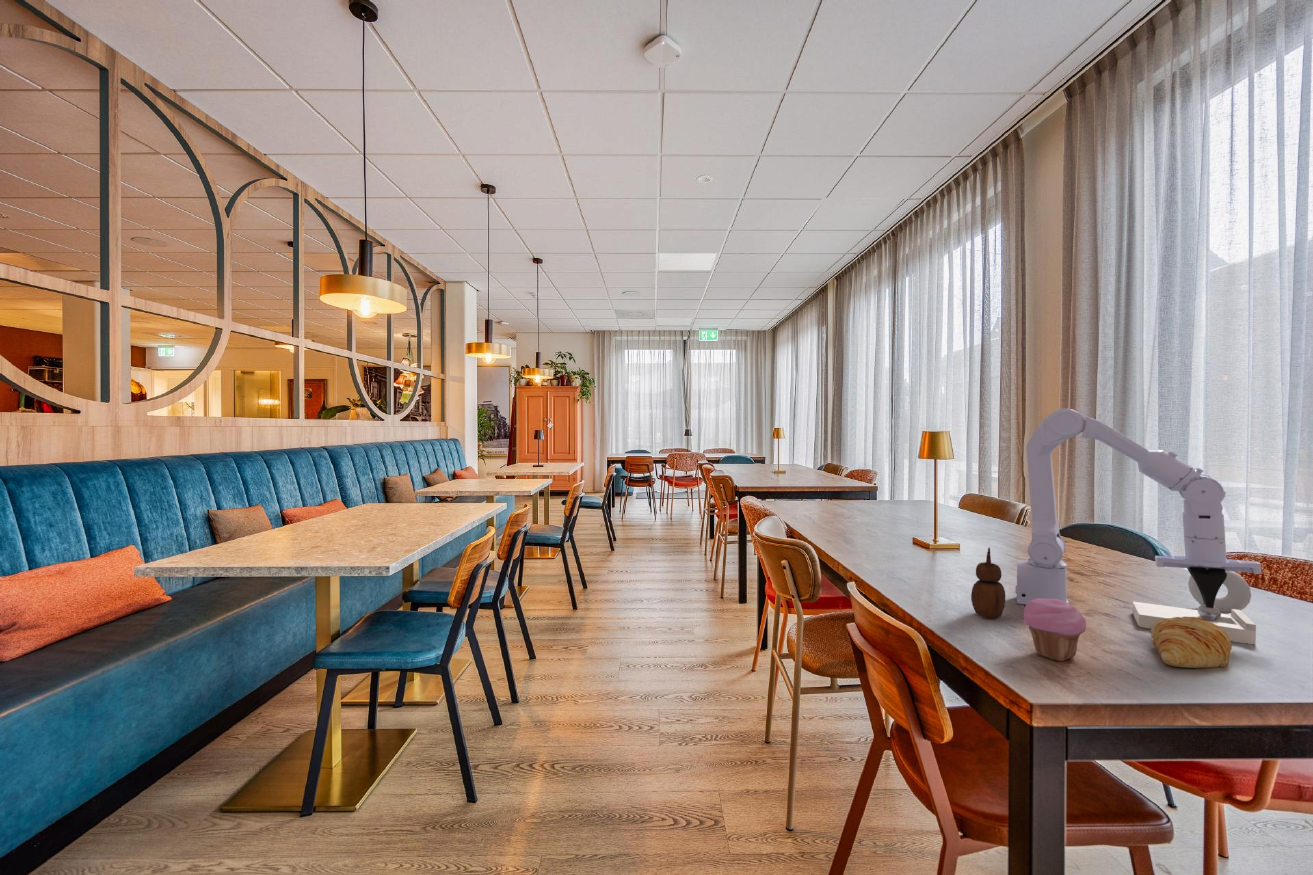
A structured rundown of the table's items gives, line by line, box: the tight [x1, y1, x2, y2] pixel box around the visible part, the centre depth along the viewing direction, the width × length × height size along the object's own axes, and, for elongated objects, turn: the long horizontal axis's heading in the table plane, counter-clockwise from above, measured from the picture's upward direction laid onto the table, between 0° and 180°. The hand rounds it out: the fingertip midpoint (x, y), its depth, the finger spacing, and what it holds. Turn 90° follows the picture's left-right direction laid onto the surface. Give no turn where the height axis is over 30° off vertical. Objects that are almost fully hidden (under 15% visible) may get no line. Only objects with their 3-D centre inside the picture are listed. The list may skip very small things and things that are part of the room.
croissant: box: [1150, 616, 1232, 669], centre depth 95 cm, size 21×10×8 cm, turn 123°
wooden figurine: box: [970, 547, 1006, 620], centre depth 115 cm, size 7×6×15 cm
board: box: [1132, 601, 1257, 646], centre depth 108 cm, size 16×10×4 cm, turn 54°
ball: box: [1197, 604, 1221, 621], centre depth 106 cm, size 3×3×3 cm
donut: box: [1187, 571, 1252, 615], centre depth 117 cm, size 10×4×10 cm, turn 20°
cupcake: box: [1023, 598, 1087, 662], centre depth 95 cm, size 9×9×10 cm
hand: (1208, 606), depth 106 cm, fingers closed, pressing on ball
